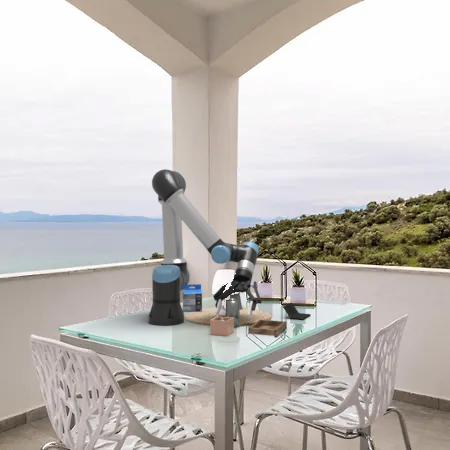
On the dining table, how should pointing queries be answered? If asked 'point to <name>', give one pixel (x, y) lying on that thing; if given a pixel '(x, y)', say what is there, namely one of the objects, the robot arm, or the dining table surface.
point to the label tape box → (192, 298)
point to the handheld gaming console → (295, 313)
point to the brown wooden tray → (268, 327)
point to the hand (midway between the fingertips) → (232, 315)
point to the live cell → (233, 311)
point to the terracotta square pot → (221, 326)
